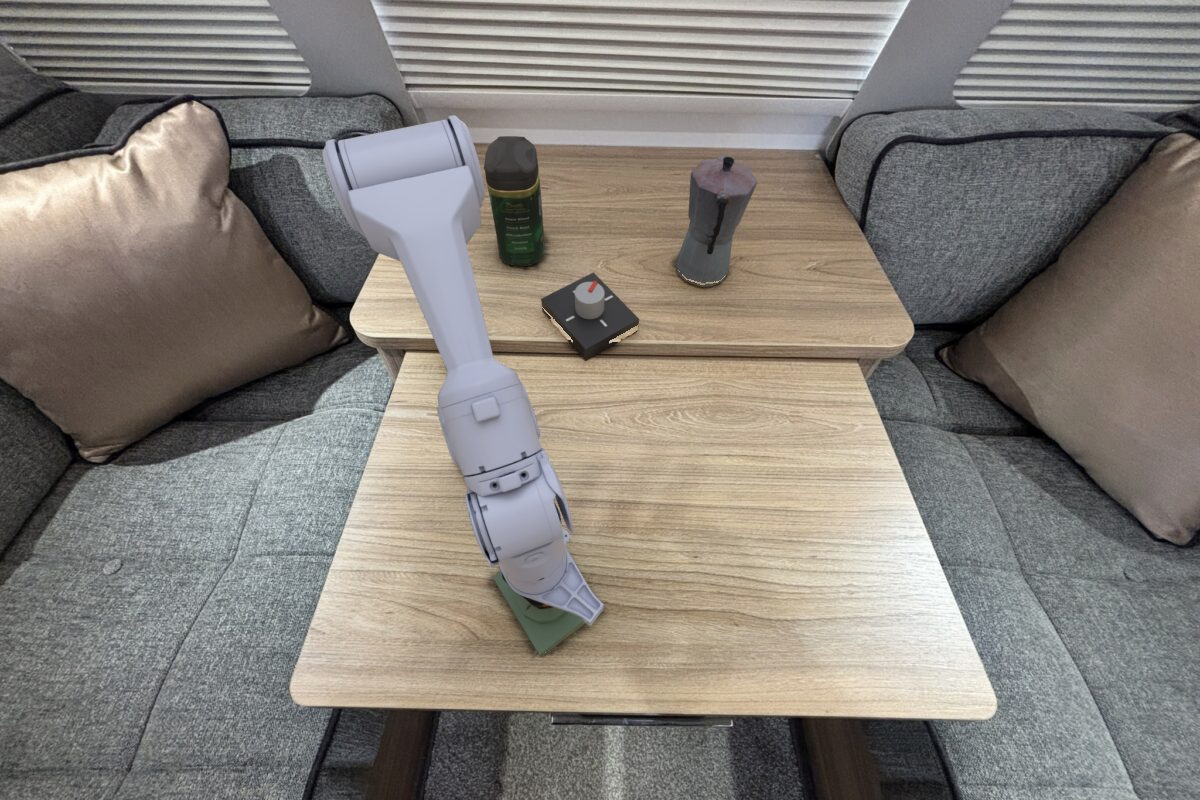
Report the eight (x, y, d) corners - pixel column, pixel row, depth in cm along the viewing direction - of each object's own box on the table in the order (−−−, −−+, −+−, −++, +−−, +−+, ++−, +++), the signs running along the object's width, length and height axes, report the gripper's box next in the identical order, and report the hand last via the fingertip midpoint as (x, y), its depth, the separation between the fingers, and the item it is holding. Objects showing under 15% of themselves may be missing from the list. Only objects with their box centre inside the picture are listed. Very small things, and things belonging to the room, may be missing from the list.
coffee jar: (545, 268, 90) (536, 169, 74) (498, 269, 89) (478, 170, 74) (546, 229, 95) (537, 129, 79) (501, 230, 94) (484, 129, 79)
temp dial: (596, 323, 80) (597, 306, 76) (570, 313, 80) (569, 296, 77) (608, 303, 82) (609, 285, 78) (582, 294, 83) (582, 276, 79)
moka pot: (729, 242, 94) (760, 134, 77) (732, 308, 86) (767, 203, 69) (675, 238, 94) (694, 129, 77) (673, 303, 86) (693, 197, 69)
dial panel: (542, 311, 85) (540, 298, 82) (593, 285, 88) (593, 271, 85) (585, 361, 80) (585, 348, 77) (638, 331, 83) (639, 318, 80)
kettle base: (495, 581, 62) (489, 572, 59) (552, 542, 65) (550, 531, 62) (540, 657, 58) (537, 653, 55) (600, 612, 61) (600, 605, 57)
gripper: (627, 564, 45) (619, 598, 56) (502, 466, 49) (518, 516, 61) (573, 635, 42) (577, 656, 53) (445, 523, 46) (474, 565, 58)
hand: (543, 585), depth 57 cm, fingers closed
